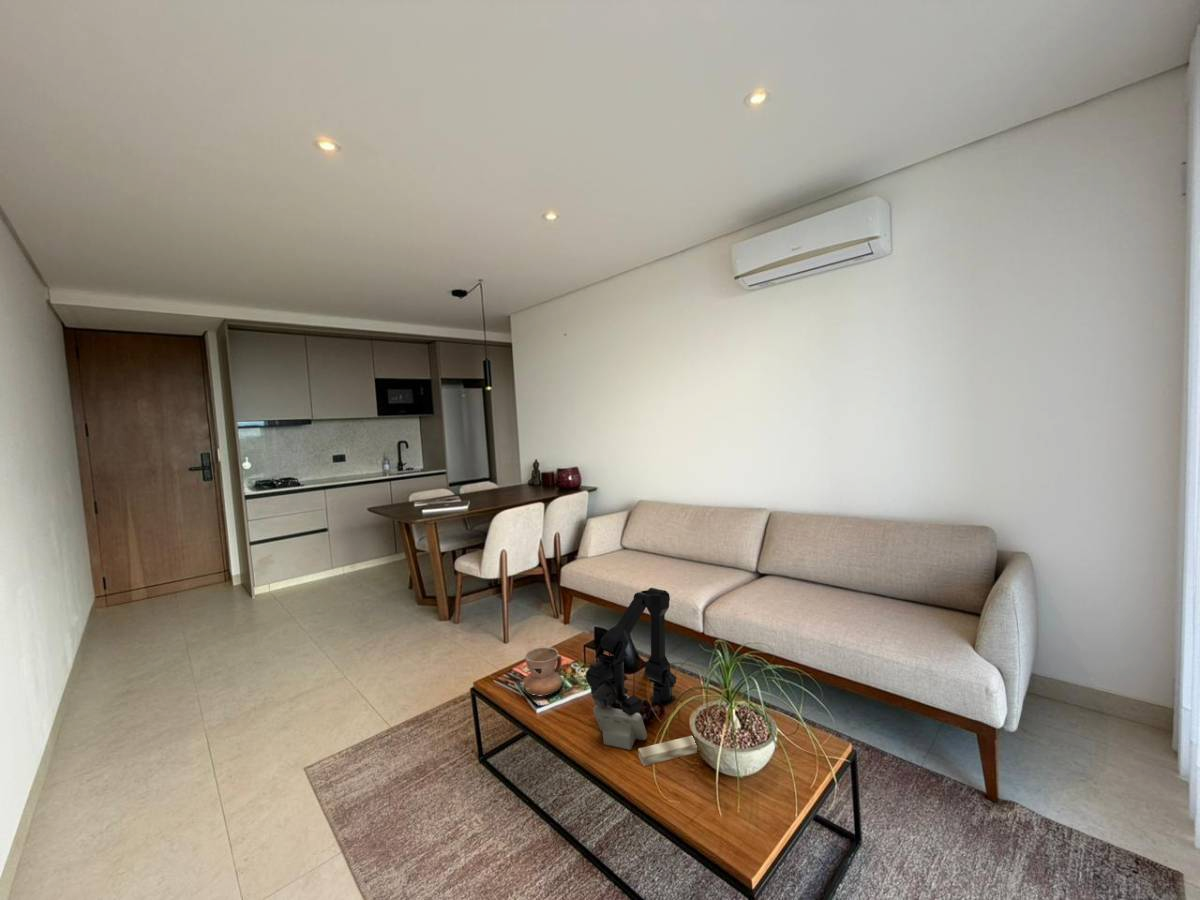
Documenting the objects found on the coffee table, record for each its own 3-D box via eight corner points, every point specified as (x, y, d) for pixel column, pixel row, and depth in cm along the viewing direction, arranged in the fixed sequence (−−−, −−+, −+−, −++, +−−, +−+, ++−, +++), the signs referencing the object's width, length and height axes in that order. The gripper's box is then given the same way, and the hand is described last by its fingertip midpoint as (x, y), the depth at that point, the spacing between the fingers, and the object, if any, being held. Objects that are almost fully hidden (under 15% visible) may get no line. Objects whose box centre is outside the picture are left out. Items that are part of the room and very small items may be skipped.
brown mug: (536, 707, 174) (534, 668, 174) (513, 692, 185) (511, 655, 184) (574, 687, 187) (573, 650, 186) (551, 674, 197) (549, 639, 197)
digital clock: (650, 738, 152) (647, 707, 150) (635, 758, 145) (632, 725, 143) (607, 721, 161) (604, 692, 160) (591, 739, 154) (587, 708, 153)
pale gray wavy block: (694, 744, 150) (694, 735, 149) (700, 752, 146) (700, 742, 146) (638, 758, 145) (638, 748, 145) (643, 767, 141) (643, 757, 141)
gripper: (576, 674, 157) (579, 721, 158) (617, 695, 143) (620, 747, 144) (602, 661, 165) (605, 706, 166) (643, 681, 151) (645, 730, 152)
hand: (617, 721), depth 157 cm, fingers closed
